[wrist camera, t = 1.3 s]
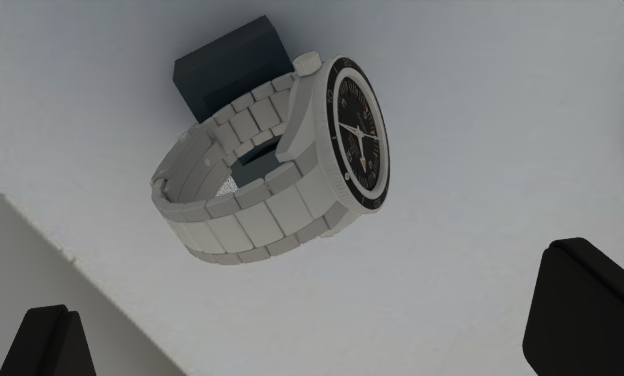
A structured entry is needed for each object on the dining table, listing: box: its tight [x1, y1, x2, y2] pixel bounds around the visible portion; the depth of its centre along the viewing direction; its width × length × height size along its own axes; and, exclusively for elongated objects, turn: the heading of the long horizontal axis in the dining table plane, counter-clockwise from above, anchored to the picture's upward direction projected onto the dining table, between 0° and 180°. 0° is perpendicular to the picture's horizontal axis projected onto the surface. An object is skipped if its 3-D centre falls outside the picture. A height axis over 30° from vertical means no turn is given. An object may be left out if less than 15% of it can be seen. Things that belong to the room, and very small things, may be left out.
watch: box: [150, 15, 390, 265], centre depth 19 cm, size 6×8×11 cm
